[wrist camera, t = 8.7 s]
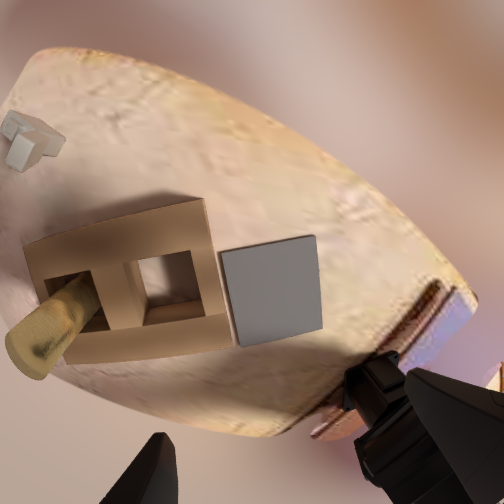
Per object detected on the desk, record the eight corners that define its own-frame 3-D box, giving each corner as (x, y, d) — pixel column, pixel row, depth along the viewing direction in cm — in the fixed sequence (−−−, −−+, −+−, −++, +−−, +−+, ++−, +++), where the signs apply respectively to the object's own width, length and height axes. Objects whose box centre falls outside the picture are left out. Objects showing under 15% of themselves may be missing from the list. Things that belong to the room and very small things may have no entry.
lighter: (29, 136, 15) (-34, 125, 7) (38, 118, 15) (-22, 99, 7) (79, 175, 17) (14, 173, 9) (91, 155, 16) (28, 142, 9)
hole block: (229, 326, 21) (232, 347, 18) (80, 346, 20) (67, 364, 17) (204, 198, 18) (202, 200, 15) (43, 238, 17) (22, 246, 14)
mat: (321, 326, 22) (322, 328, 22) (240, 345, 21) (240, 347, 21) (314, 235, 20) (315, 236, 20) (221, 252, 19) (221, 253, 19)
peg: (112, 303, 19) (56, 381, 10) (82, 308, 19) (21, 379, 9) (100, 268, 18) (30, 329, 9) (71, 274, 18) (-3, 331, 8)
